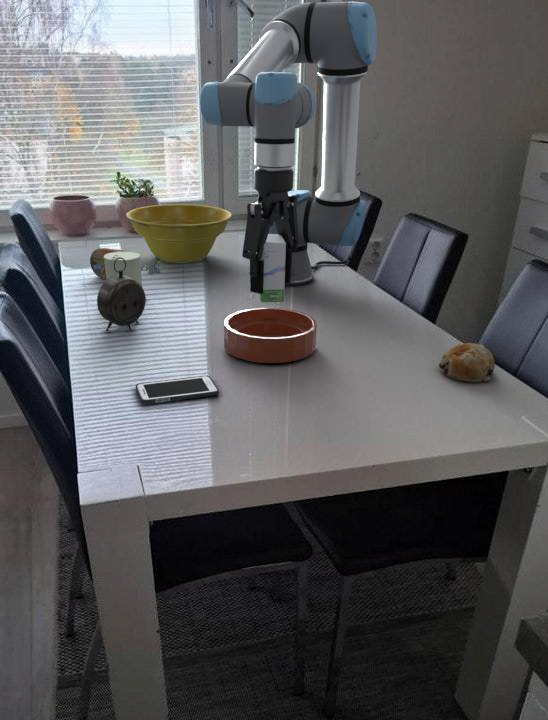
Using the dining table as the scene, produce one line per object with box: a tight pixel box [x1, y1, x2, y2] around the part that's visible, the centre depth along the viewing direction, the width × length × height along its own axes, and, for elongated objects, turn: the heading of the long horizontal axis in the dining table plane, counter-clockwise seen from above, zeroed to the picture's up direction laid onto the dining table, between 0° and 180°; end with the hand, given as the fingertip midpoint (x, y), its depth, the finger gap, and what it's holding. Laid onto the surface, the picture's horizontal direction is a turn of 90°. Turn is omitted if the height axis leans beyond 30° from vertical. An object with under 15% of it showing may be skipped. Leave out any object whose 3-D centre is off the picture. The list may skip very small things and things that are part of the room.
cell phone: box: [135, 375, 220, 405], centre depth 125 cm, size 8×15×1 cm, turn 107°
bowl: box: [223, 307, 318, 364], centre depth 143 cm, size 20×20×6 cm
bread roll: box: [438, 342, 496, 383], centre depth 132 cm, size 10×10×8 cm
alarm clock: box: [96, 257, 147, 333], centre depth 150 cm, size 11×5×16 cm, turn 134°
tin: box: [89, 247, 133, 280], centre depth 187 cm, size 15×3×8 cm, turn 68°
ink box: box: [258, 234, 286, 303], centre depth 135 cm, size 8×5×12 cm, turn 5°
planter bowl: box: [125, 203, 233, 264], centre depth 206 cm, size 32×32×13 cm
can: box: [104, 250, 143, 287], centre depth 169 cm, size 9×9×12 cm
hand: (270, 286), depth 137 cm, fingers closed on ink box, 9 cm apart
